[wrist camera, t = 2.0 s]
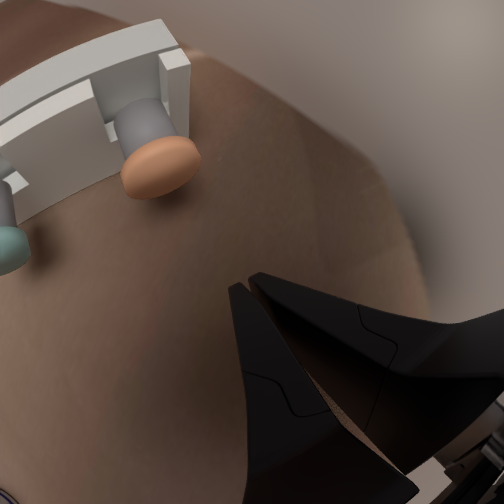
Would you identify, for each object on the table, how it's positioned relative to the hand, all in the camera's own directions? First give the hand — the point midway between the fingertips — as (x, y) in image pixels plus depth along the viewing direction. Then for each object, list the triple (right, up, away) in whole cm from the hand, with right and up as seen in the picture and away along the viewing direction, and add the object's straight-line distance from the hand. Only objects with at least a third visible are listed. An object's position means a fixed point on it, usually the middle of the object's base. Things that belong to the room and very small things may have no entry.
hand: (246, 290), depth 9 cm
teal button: (-17, +2, +7) cm, 18 cm away
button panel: (-16, +10, +14) cm, 23 cm away
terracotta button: (-6, +7, +10) cm, 14 cm away
